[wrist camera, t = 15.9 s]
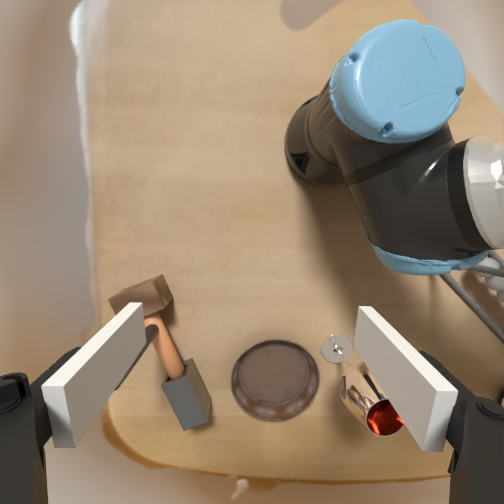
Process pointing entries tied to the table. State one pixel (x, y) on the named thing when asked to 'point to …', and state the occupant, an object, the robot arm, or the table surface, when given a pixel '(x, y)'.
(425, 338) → the table surface
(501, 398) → the spread jar
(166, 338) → the sliding bolt
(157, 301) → the socket
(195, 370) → the sleeve
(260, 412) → the plant saucer
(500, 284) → the newton's cradle
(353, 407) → the wineglass
